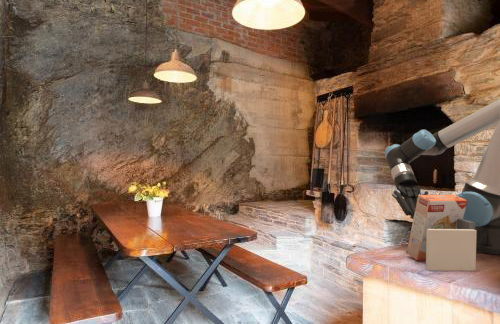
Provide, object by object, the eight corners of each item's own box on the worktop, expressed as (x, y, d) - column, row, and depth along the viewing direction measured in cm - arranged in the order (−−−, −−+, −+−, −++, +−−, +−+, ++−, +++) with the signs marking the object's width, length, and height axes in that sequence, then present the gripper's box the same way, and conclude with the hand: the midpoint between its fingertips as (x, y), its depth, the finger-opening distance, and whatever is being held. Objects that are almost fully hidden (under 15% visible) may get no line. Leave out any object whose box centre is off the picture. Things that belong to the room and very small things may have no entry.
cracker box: (417, 262, 108) (430, 200, 103) (405, 252, 114) (416, 194, 109) (454, 259, 111) (468, 199, 106) (441, 250, 117) (453, 193, 112)
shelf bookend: (461, 262, 108) (462, 218, 108) (477, 270, 100) (478, 223, 100) (415, 262, 108) (416, 218, 107) (428, 270, 100) (429, 223, 100)
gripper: (417, 184, 133) (439, 238, 117) (383, 184, 133) (401, 237, 117) (425, 172, 128) (449, 226, 112) (390, 171, 128) (409, 225, 112)
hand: (424, 232), depth 115 cm, fingers closed
